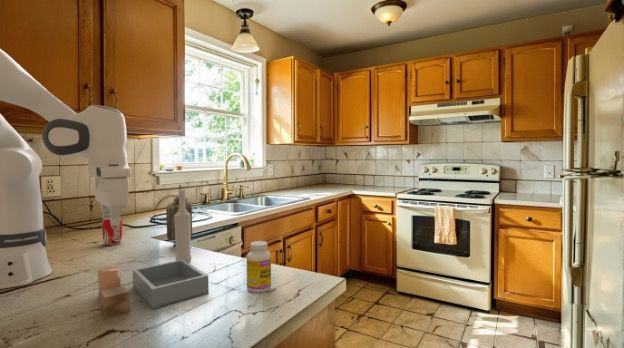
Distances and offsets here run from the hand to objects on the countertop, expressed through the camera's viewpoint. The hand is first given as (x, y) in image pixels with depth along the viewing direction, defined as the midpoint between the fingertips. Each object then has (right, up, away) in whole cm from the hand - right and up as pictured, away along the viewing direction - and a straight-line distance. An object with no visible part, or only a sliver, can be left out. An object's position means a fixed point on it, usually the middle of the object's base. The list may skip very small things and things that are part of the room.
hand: (110, 221), depth 89 cm
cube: (+6, -20, -8) cm, 23 cm away
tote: (+14, -19, +4) cm, 24 cm away
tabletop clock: (0, -17, +47) cm, 50 cm away
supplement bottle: (+38, -20, +5) cm, 43 cm away
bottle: (+8, -18, +28) cm, 35 cm away
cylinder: (-1, -20, 0) cm, 20 cm away
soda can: (-30, -17, +52) cm, 62 cm away
